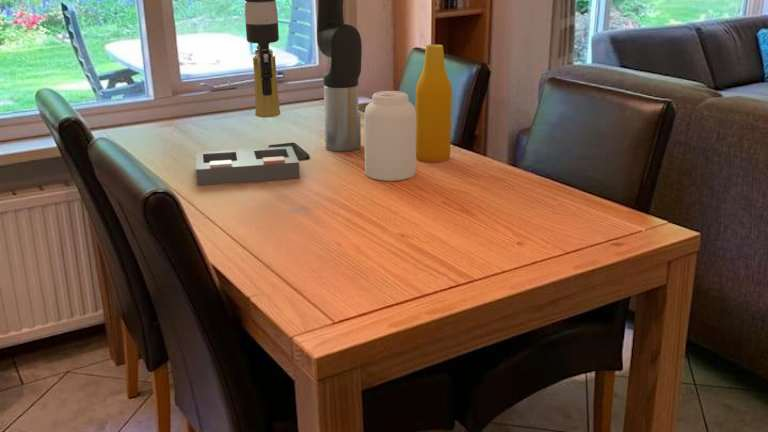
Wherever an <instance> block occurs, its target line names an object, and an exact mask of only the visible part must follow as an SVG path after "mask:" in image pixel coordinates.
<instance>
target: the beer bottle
mask: <svg viewBox="0 0 768 432" xmlns="http://www.w3.org/2000/svg"><path fill="white" fill-rule="evenodd" d="M424 52H425V53H424V62H423V67H422V68H423V69H422V72H421V75H420V76H419V78H418V81H417V83H416V88H415V110H416V160H418V161H420V162H423V163H431V164H433V163H434V164H435V163H444V162H447V161H448V160H449V159H450V156H451V135H452V133H451V130H452V129H451V128H452V127H451V126H452V97H453V90H452V85H451V81H450V79H449V76H448V74H447V72H446V65H445V55H444V46H443V44H426V46H425V51H424Z"/></svg>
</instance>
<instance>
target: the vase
mask: <svg viewBox="0 0 768 432" xmlns="http://www.w3.org/2000/svg"><path fill="white" fill-rule="evenodd" d="M252 63H253V77H254V81H253V82H254V101H255V112H254V113H255V114H254V115H255V116H256V117H258V118H266V119H267V118H275V117H278V116H280V115H281V111H280V110H281V109H280V108H281V107H280V101H279V100H280V99H279V91H278V81H277V80H278V79H277V63H276V55H274V54H273V57H272V63H273V69H272V74H273V77H272V79H271V85H272V95H269V96H264V95H263V93H262V80H261V77H260V76H261V72H260V70H258V60H257V58H256V56H255V55H253V56H252ZM260 65H261V61H260ZM263 73H269V70H263Z"/></svg>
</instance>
